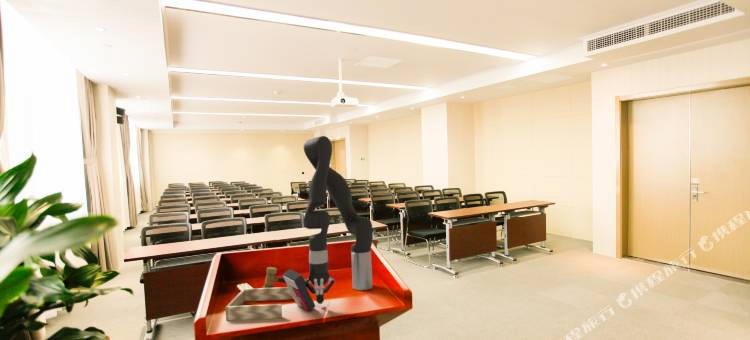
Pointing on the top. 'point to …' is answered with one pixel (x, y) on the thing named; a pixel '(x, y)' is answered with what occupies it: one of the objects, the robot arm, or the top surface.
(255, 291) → the beige piece
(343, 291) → the top surface
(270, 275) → the gavel
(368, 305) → the top surface
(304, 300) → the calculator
